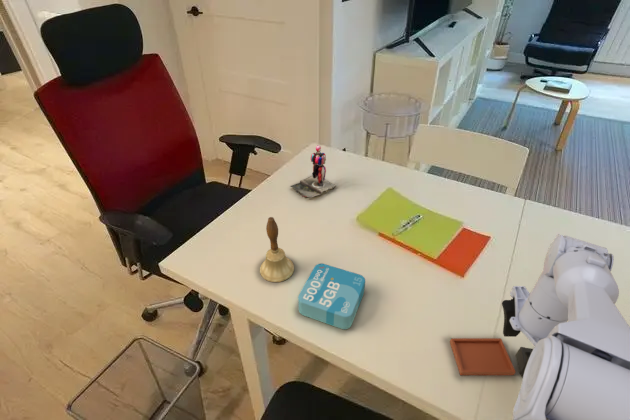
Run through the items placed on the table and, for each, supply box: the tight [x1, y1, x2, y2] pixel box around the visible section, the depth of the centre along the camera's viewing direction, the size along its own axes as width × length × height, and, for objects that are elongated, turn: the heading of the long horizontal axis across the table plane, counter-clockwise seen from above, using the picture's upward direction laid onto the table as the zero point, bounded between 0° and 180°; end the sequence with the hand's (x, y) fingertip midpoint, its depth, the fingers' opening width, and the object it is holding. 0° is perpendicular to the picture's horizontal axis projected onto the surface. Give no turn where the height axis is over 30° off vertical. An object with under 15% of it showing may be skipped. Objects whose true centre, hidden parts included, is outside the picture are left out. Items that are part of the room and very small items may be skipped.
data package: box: [297, 262, 366, 330], centre depth 81 cm, size 12×4×12 cm
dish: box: [449, 337, 517, 376], centre depth 72 cm, size 10×7×1 cm
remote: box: [515, 346, 534, 375], centre depth 70 cm, size 7×4×3 cm, turn 78°
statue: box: [289, 145, 337, 199], centre depth 112 cm, size 11×9×15 cm
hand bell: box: [259, 216, 295, 283], centre depth 85 cm, size 8×8×16 cm
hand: (518, 354), depth 63 cm, fingers open, 7 cm apart
